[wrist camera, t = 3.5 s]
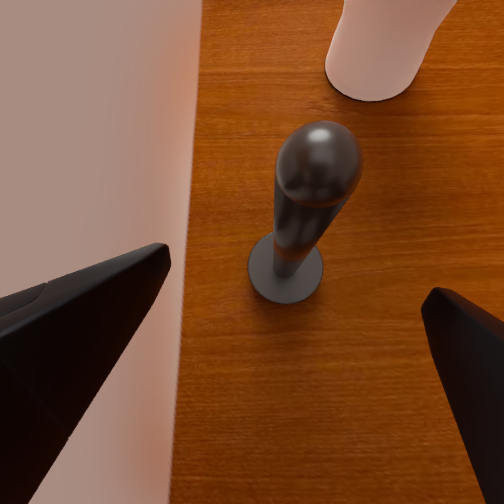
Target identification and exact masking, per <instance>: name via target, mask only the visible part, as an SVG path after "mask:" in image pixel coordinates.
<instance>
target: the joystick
mask: <svg viewBox="0 0 504 504" xmlns="http://www.w3.org/2000/svg"><path fill="white" fill-rule="evenodd" d="M363 161H364V160H363V153H362V149H361V146H360V144H359V141H358V140H357V138H356V137H355V135H354V134H353V133H352V132H351V131H350V130H348V129H347V128H346V127H344V126H343V125H341V124H339V123H336V122H332V121H315V122H311V123H307V124H305V125H303V126H301V127H299V128H298V129H296V130H295V131H294V132H293V133H292V134H290V135H289V136H288V137H287V139H286V140H285V141H284V143H283V144H282V146H281V148H280V150H279V152H278V155H277V159H276V164H275V192H274V232H272V233H269V234H267V235H266V236H264V237H263V238H261V239H260V240H259V241H258V242H257V243H256V244H255V245H254V247H253V249H252V250H251V253H250V255H249V259H248V274H249V278H250V281H251V283H252V285H253V287H254V288H255V290H256V291H257V292H258V293H259V294H260V295H261V296H262V297H264V298H265V299H267V300H268V301H270V302H273V303H276V304H283V305H288V304H295V303H298V302H301V301H303V300H305V299H307V298H308V297H309V296H311V295H312V294H313V293H314V292H315V290H316V289H317V288H318V286H319V284H320V282H321V279H322V275H323V261H322V257H321V254H320V252H319V250H318V248H317V247H316V245H315V244H316V243H317V242H318V240H319V239H320V237H321V236H322V235H323V233H324V232H325V230H326V229H327V228H328V226H329V225H330V223H331V222H332V221H333V219H334V218H335V216H336V215H337V214H338V212H339V211H340V209H341V208H342V207H343V205H344V204H345V202H346V201H347V200H348V198H349V197H350V195H351V194H352V193H353V191H354V190H355V188H356V187H357V185H358V183H359V181H360V178H361V175H362V170H363Z"/></svg>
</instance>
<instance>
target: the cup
mask: <svg viewBox="0 0 504 504" xmlns="http://www.w3.org/2000/svg"><path fill="white" fill-rule="evenodd" d="M457 1H458V0H344V8H343V13H342V16H341V18H340V21H339V23H338V26H337V29H336V31H335V34H334V36H333V39H332V42H331V45H330V48H329V51H328V54H327V57H326V60H325V71H326V74H327V76H328V79H329V81H330V82H331V83H332V85H333V86H334V87H335V88H336V89H337V90H339V91H340V92H341V93H343V94H344V95H347V96H349V97H351V98H354V99H358V100H363V101H380V100H384V99H388V98H391V97H393V96H395V95H397V94H399V93H401V92H402V91H404V90H405V89H406V88H407V87H408V86H409V85H410V84H411V82H412V80H413V79H414V77H415V75H416V73H417V71H418V69H419V67H420V65H421V63H422V61H423V59H424V56H425V54H426V52H427V49H428V47H429V45H430V42H431V40H432V37H433V35H434V33H435V30H436V29H437V28H438V26H439V25H440V24H441V22H442V21H443V20H444V18H445V17H446V15H447V14H448V13H449V11H450V10H451V9H452V7H453V6H454V5H455V3H456V2H457Z"/></svg>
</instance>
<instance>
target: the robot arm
mask: <svg viewBox="0 0 504 504" xmlns="http://www.w3.org/2000/svg"><path fill="white" fill-rule="evenodd" d="M170 268H171V259H170V252H169V247H168V245H166V244H162V243H154V244H151V245H148V246H145V247H142V248H140V249H137V250H134V251H131V252H129V253H126V254H123V255H120V256H118V257H115V258H112V259H109V260H106V261H104V262H101V263H98V264H95V265H93V266H90V267H87V268H84V269H82V270H79V271H76V272H73V273H70V274H67V275H65V276H62V277H59V278H56V279H54V280H51V281H49V282H48V283H42V284H40V285H37V286H34V287H31V288H28V289H25V290H23V291H20V292H17V293H14V294H11V295H8V296H5V297H2V298H0V504H28V503H29V501H30V500H31V498H32V497H33V495H34V493H35V492H36V490H37V489H38V487H39V485H40V484H41V482H42V480H43V479H44V477H45V476H46V474H47V473H48V471H49V470H50V468H51V466H52V465H53V463H54V462H55V460H56V458H57V457H58V455H59V453H60V452H61V450H62V449H63V447H64V446H65V444H66V442H67V441H68V437H70V436H71V434H72V433H73V431H74V429H75V428H76V426H77V425H78V423H79V421H80V420H81V418H82V417H83V415H84V413H85V412H86V410H87V408H88V407H89V405H90V404H91V402H92V401H93V399H94V397H95V396H96V394H97V393H98V391H99V390H100V388H101V386H102V385H103V383H104V381H105V380H106V378H107V377H108V375H109V374H110V372H111V370H112V369H113V367H114V366H115V364H116V362H117V361H118V359H119V358H120V356H121V354H122V353H123V351H124V350H125V348H126V346H127V345H128V343H129V342H130V340H131V339H132V337H133V335H134V334H135V332H136V331H137V329H138V327H139V326H140V324H141V323H142V321H143V319H144V318H145V316H146V315H147V313H148V311H149V310H150V308H151V306H152V305H153V303H154V301H155V299H156V297H157V295H158V293H159V291H160V289H161V287H162V285H163V283H164V281H165V279H166V277H167V275H168V272H169V270H170ZM421 314H422V318H423V322H424V326H425V330H426V335H427V339H428V343H429V347H430V351H431V354H432V357H433V360H434V363H435V366H436V369H437V372H438V374H439V377H440V380H441V382H442V385H443V388H444V391H445V393H446V396H447V399H448V402H449V404H450V407H451V410H452V412H453V415H454V418H455V421H456V423H457V426H458V429H459V431H460V434H461V437H462V440H463V442H464V445H465V448H466V451H467V453H468V456H469V459H470V461H471V464H472V467H473V470H474V472H475V475H476V478H477V480H478V483H479V486H480V489H481V491H482V494H483V497H484V499H485V502H486V504H504V322H503V321H501V320H500V319H498V318H496V317H495V316H493V315H491V314H490V313H488V312H487V311H485V310H483V309H482V308H480V307H478V306H477V305H475V304H474V303H472V302H470V301H469V300H467V299H466V298H464V297H462V296H461V295H459V294H457V293H456V292H454V291H453V290H451V289H446V288H440V287H436V288H433V289H432V290H431V292H430V293H429V295H428V296H427V298H426V300H425V301H424V303H423V304H422V307H421Z"/></svg>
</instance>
